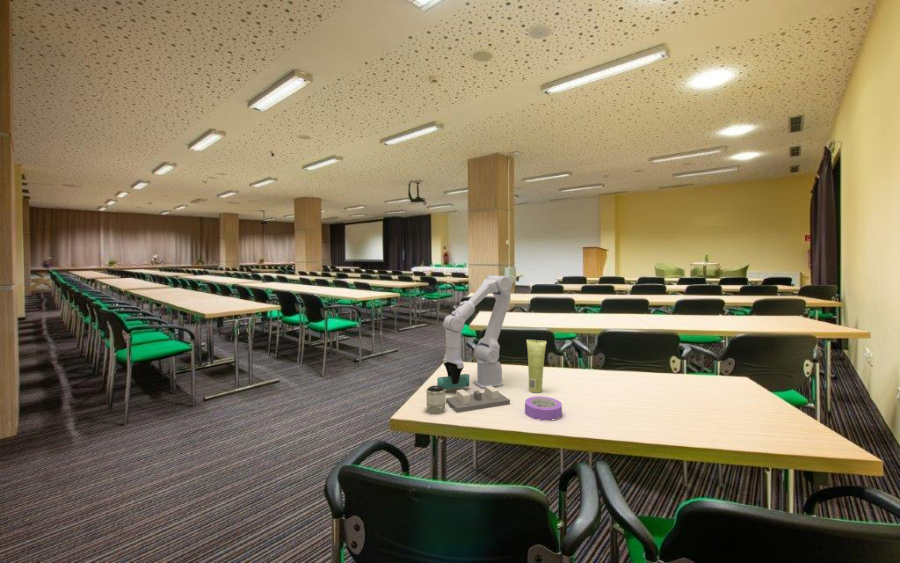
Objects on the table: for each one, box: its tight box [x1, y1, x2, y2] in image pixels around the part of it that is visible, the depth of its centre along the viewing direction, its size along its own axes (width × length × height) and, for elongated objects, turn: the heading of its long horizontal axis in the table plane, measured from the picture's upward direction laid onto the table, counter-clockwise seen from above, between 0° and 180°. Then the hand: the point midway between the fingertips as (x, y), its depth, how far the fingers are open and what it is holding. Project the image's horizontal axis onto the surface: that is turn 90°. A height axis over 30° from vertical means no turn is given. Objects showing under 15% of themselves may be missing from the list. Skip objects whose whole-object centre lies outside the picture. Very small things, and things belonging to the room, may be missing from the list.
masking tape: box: [524, 395, 563, 421], centre depth 128 cm, size 12×12×4 cm
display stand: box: [445, 386, 511, 414], centre depth 136 cm, size 20×10×4 cm, turn 112°
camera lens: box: [426, 385, 446, 415], centre depth 130 cm, size 6×6×8 cm
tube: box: [525, 339, 547, 393], centre depth 148 cm, size 6×5×20 cm
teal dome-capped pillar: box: [436, 373, 470, 391], centre depth 149 cm, size 13×3×4 cm, turn 112°
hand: (453, 382), depth 149 cm, fingers closed on teal dome-capped pillar, 3 cm apart
